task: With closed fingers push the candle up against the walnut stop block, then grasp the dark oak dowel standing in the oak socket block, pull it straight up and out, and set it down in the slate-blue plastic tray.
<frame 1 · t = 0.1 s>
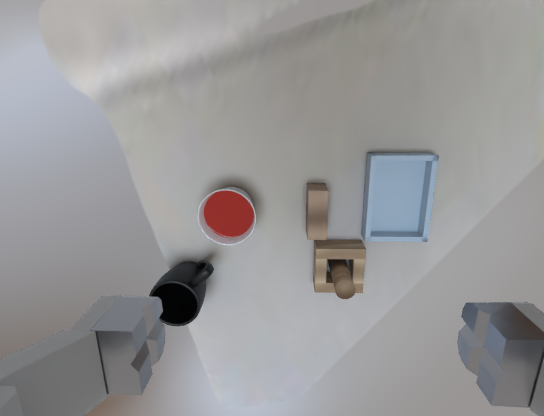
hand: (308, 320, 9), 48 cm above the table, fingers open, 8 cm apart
stop block: (315, 206, 58), on the table
socket block: (336, 260, 61), on the table
mug: (197, 268, 63), on the table
tray: (394, 195, 57), on the table
dowel: (340, 274, 56), in the socket block
candle: (233, 205, 59), on the table
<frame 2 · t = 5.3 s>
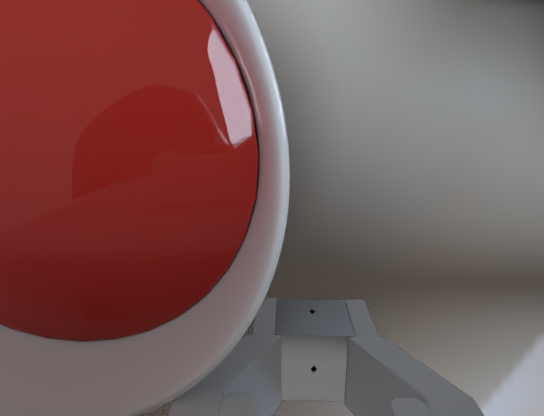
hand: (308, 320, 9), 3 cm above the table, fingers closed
candle: (146, 134, 11), on the table, touching gripper
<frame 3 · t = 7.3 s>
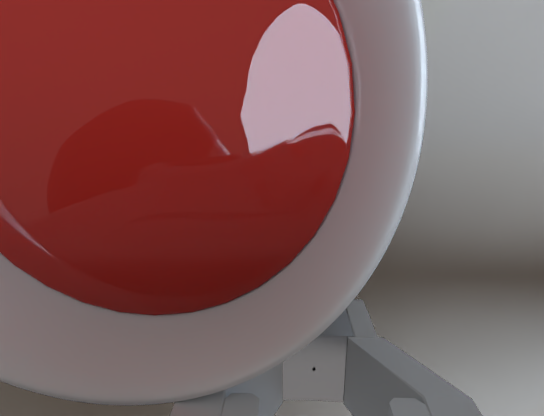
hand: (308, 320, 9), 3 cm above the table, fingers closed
candle: (198, 112, 11), on the table, touching gripper, stop block
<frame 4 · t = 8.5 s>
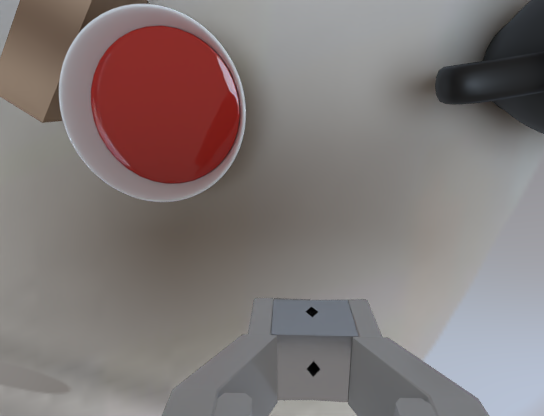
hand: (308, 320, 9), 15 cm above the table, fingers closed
stop block: (98, 48, 22), on the table
mug: (494, 69, 21), on the table
candle: (191, 107, 23), on the table
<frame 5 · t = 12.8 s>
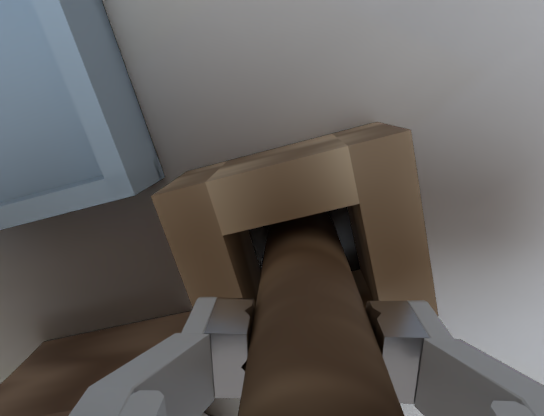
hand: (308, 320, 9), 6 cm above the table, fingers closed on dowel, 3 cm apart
stop block: (127, 351, 17), on the table
socket block: (301, 236, 15), on the table
dowel: (307, 297, 10), in the socket block, touching gripper
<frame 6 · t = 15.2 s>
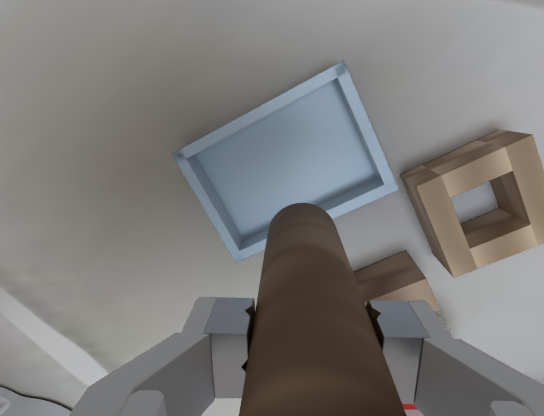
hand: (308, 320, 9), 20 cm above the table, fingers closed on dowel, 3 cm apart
stop block: (369, 281, 31), on the table
socket block: (464, 196, 28), on the table
tray: (285, 164, 29), on the table
dowel: (308, 297, 10), point 19 cm above the table, touching gripper
when the fingers open (8 cm above the table, at t = 18.1 s): dowel drops 1 cm, resting on tray.
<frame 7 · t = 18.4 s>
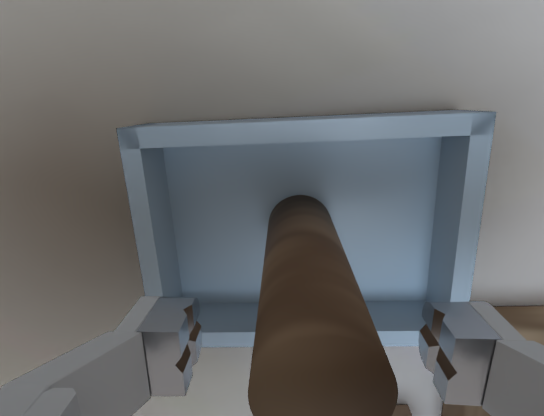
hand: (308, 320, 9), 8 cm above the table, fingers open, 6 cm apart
socket block: (521, 369, 19), on the table
tray: (300, 221, 17), on the table
dowel: (306, 276, 12), in the tray, point 6 cm above the table
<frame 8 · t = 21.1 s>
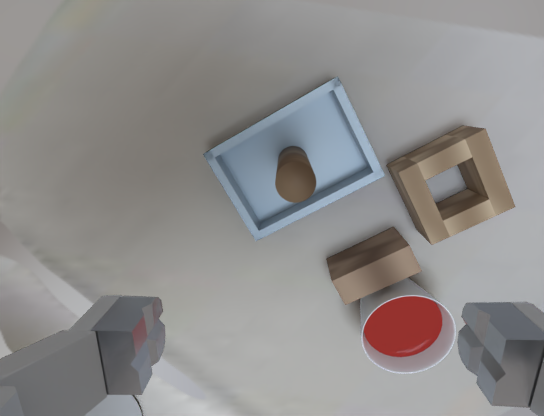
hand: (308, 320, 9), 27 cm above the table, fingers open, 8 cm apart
stop block: (365, 254, 38), on the table
socket block: (438, 180, 35), on the table
tray: (293, 159, 35), on the table
dowel: (294, 170, 30), in the tray, point 6 cm above the table
candle: (389, 299, 40), on the table
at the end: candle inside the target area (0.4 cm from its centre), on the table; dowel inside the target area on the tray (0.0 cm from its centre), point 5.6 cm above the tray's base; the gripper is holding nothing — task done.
